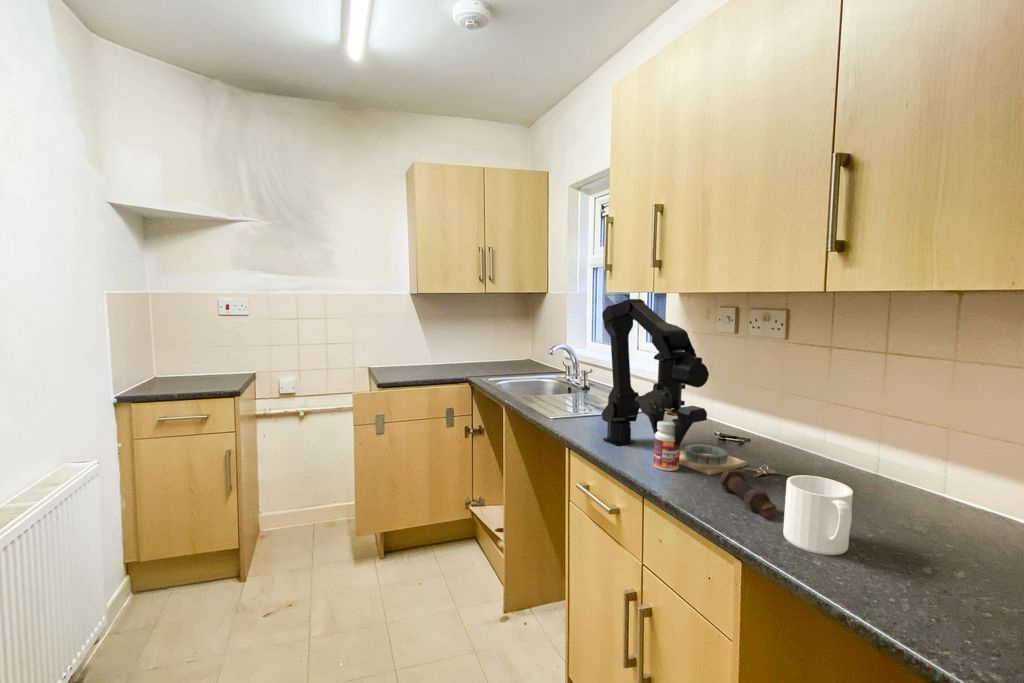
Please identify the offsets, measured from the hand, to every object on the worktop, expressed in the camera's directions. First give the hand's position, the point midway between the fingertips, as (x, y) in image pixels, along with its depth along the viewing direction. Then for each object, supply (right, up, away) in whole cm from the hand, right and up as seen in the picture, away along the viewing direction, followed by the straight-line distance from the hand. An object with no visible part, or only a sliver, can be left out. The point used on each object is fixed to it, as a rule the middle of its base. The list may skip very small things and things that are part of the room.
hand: (667, 441), depth 128 cm
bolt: (+11, -9, -21) cm, 25 cm away
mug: (+15, -11, -38) cm, 42 cm away
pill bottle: (0, -7, +1) cm, 7 cm away
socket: (+11, -6, +5) cm, 14 cm away
